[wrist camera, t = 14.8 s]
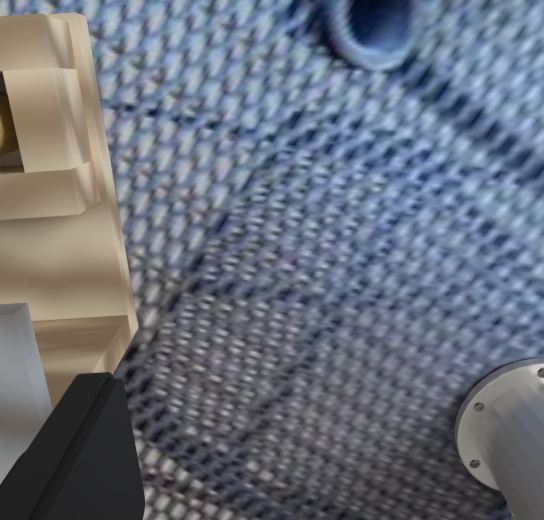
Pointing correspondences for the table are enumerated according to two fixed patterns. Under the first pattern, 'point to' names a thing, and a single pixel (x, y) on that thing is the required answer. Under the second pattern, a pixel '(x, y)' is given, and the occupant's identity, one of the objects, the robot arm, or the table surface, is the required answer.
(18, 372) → the awning station
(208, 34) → the table surface
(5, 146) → the peg
